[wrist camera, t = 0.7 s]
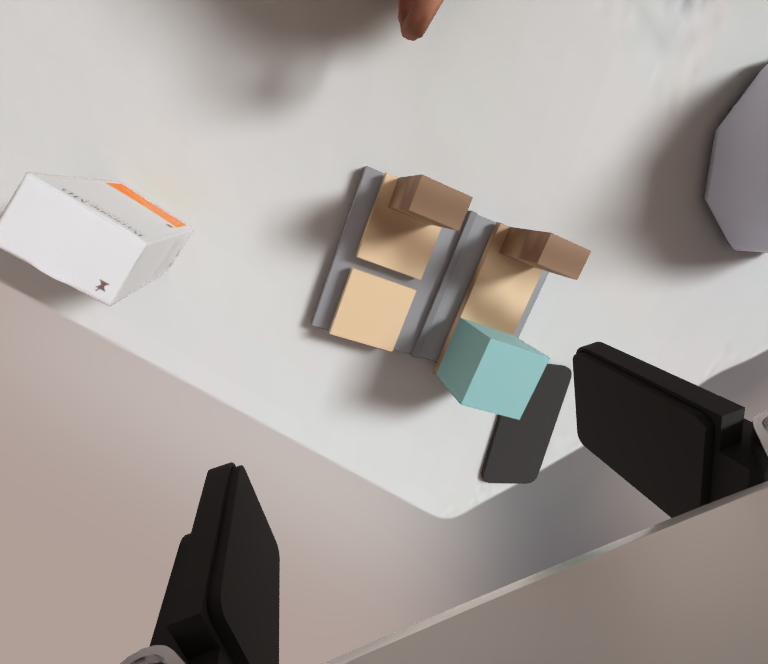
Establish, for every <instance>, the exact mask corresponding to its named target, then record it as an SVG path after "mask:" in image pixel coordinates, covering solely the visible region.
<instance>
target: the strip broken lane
mask: <svg viewBox="0 0 768 664" xmlns="http://www.w3.org/2000/svg"><path fill="white" fill-rule="evenodd" d="M472 198H473V197H470V196H468V195H466V194H464V193H462V192H459V191H457V190H455V189H453V188H451V187H448V186H446V185H444V184H442V183H440V182H437V181H435V180H433V179H431V178H428V177H426V176H424V175H416V176H408V177H401V178H398V177H395V176H393V175H391V174H389V173H385V174H384V177H383V180H382V183H381V185H380V188H379V191H378V194H377V197H376V199H375V202H374V205H373V208H372V211H371V214H370V216H369V219H368V222H367V225H366V228H365V230H364V233H363V236H362V239H361V242H360V244H359V247H358V250H357V253H356V256H357V257H358V258H361V259H364V260H367V261H370V262H372V263H375V264H378V265H381V266H384V267H386V268H389V269H392V270H395V271H397V272H400V273H403V274H406V275H409V276H411V277H414V278H417V279H420V280H421V278H422V276H423V273H424V271H425V268H426V266H427V263H428V261H429V258H430V256H431V253H432V251H433V248H434V246H435V243H436V241H437V238H438V235H439V233H440V230H441V228H442V227H443V228H448V229H453V230H457V231H459V230H460V227H461V225H462V223H463V220H464V218H465V215H466V213H467V210H468V208H469V205H470V203H471V201H472Z"/></svg>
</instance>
